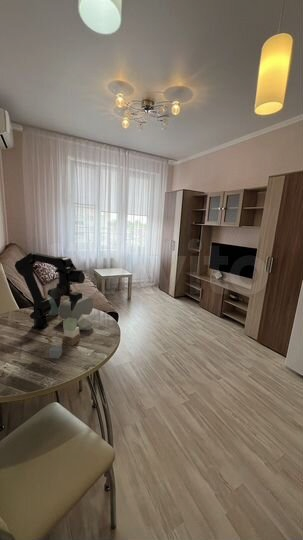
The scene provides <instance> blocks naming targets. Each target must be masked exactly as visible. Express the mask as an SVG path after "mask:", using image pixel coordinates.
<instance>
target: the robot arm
mask: <svg viewBox="0 0 303 540" xmlns="http://www.w3.org/2000/svg"><path fill="white" fill-rule="evenodd" d="M37 262H38V263H43V264H47V265H51V266H53V267H54V268H55V270H54V273H56V274H58V283H56V286H55V287H52V288H49V289H48V290H47V296H49V297H50V298H53V299H54V301H55V303H56V305H57V308H59V307H60V305H61V300H62V299H61V298H62V297H64V296H66V297H68V299H70V300H69V301H70V302H71V311H73V309H74V307H75V305H76V303H77V301H78V300H79V299H81V298H82V296H83V293H82V292H80V291H79V292H78V291H74V292H73V289H72V288H71V285H72V284H73V283H74V284H83V283H84V282H85V279H86V276H85V273H84V272H83V271H84V270H82V269H77V268H76V266H75V264H74V262H73V261H72V258H71V257H69V256H53V255H50V254H49V255H48V254H44V253H40V252H29V253H28V254H26V256H23V257H22V258H21V259H19V260H17V261H15V264H14V267H15V270H16V272H17V273H18V275H20V277H21V276H22V277H23V280H24V282H25V284H26V286H27V289H28V291H29V293H30V294H29V295H31V298H32V300H33V303H32V310H33V311H32V312H31V314H29V317H30V319H32V320H33V325H32V326H31V328H32V329H36V330H39V331H41V330H43V329H45V328H47V327H48V326H50V325H49V324H48V318H47V315H48V314H49V312H50V310H51V304H50V302H49V300H48V299H49V298H47V299H45V298H44V296H43V294H42V292H41V289H40V287H39V284H38V282H37V280H36V278H35V275H34V270H35V266H34V265H35V264H36V263H37Z"/></svg>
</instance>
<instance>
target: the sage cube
mask: <svg viewBox="0 0 303 540" xmlns="http://www.w3.org/2000/svg"><path fill="white" fill-rule="evenodd" d="M62 325H63V326H62V327H63V328H62V329H63V331H64V330H68V331H72V330H74V329H75V328H77V327H78V324H77V319H74V318H67V319H66V320H65V319H63V321H62Z"/></svg>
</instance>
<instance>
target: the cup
mask: <svg viewBox="0 0 303 540" xmlns="http://www.w3.org/2000/svg"><path fill="white" fill-rule="evenodd" d="M47 299H48V300H49V302H50V304H51V310H50V312H49V314H47V315H49V316H51V317H54V316H57V315H59V308H60V307H59V308H57V305H56V303H55V301H54V299H53V298H51V297H50V298H47Z"/></svg>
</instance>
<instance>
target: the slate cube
mask: <svg viewBox="0 0 303 540" xmlns="http://www.w3.org/2000/svg"><path fill="white" fill-rule="evenodd" d="M48 354H49V359H60V357H61V355H62V354H63V345H60V344H58V345H56V344H52V346H51V347H50V348H49V353H48Z"/></svg>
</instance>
